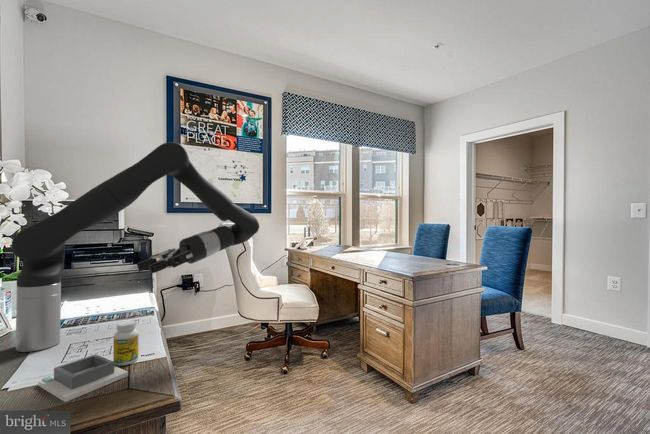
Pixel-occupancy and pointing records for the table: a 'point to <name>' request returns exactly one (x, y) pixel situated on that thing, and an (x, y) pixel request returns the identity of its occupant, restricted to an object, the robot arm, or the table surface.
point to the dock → (81, 377)
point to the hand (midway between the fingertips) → (143, 268)
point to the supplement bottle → (126, 343)
